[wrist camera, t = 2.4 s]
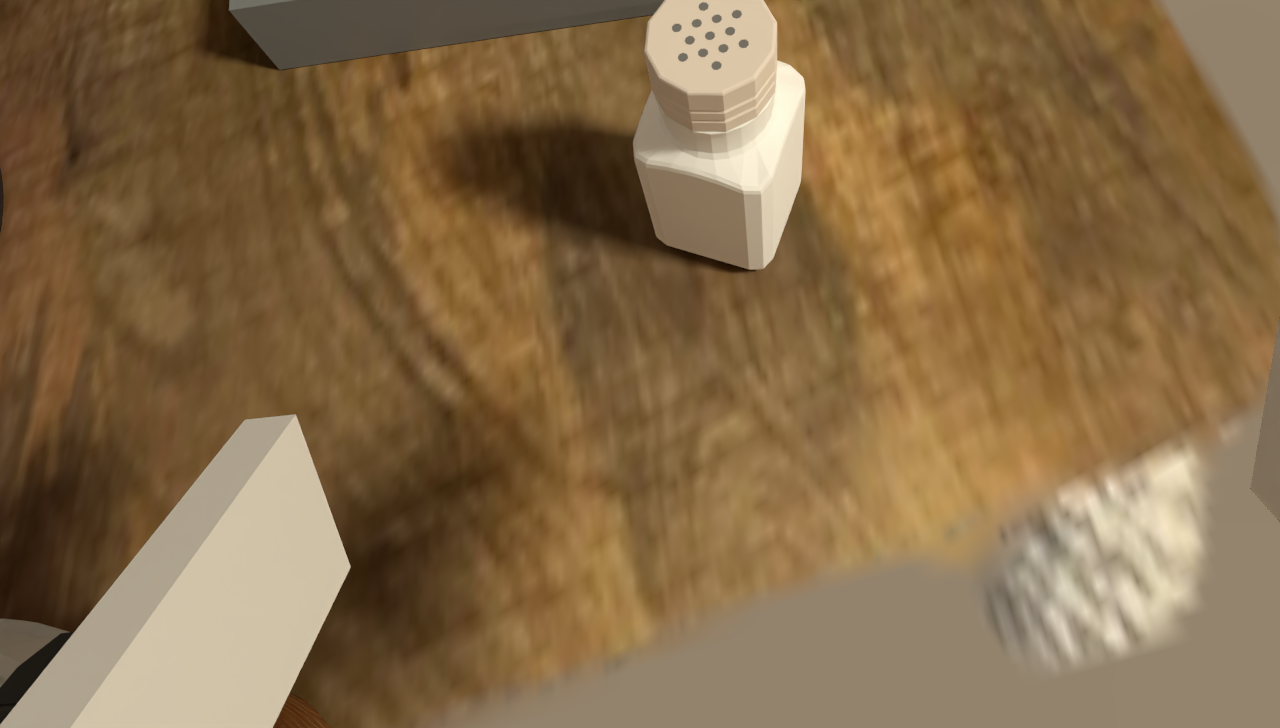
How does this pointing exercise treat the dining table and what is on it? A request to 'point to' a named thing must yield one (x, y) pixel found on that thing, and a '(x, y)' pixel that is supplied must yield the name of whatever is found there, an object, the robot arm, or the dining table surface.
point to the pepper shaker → (719, 130)
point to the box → (407, 23)
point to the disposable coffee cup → (18, 640)
